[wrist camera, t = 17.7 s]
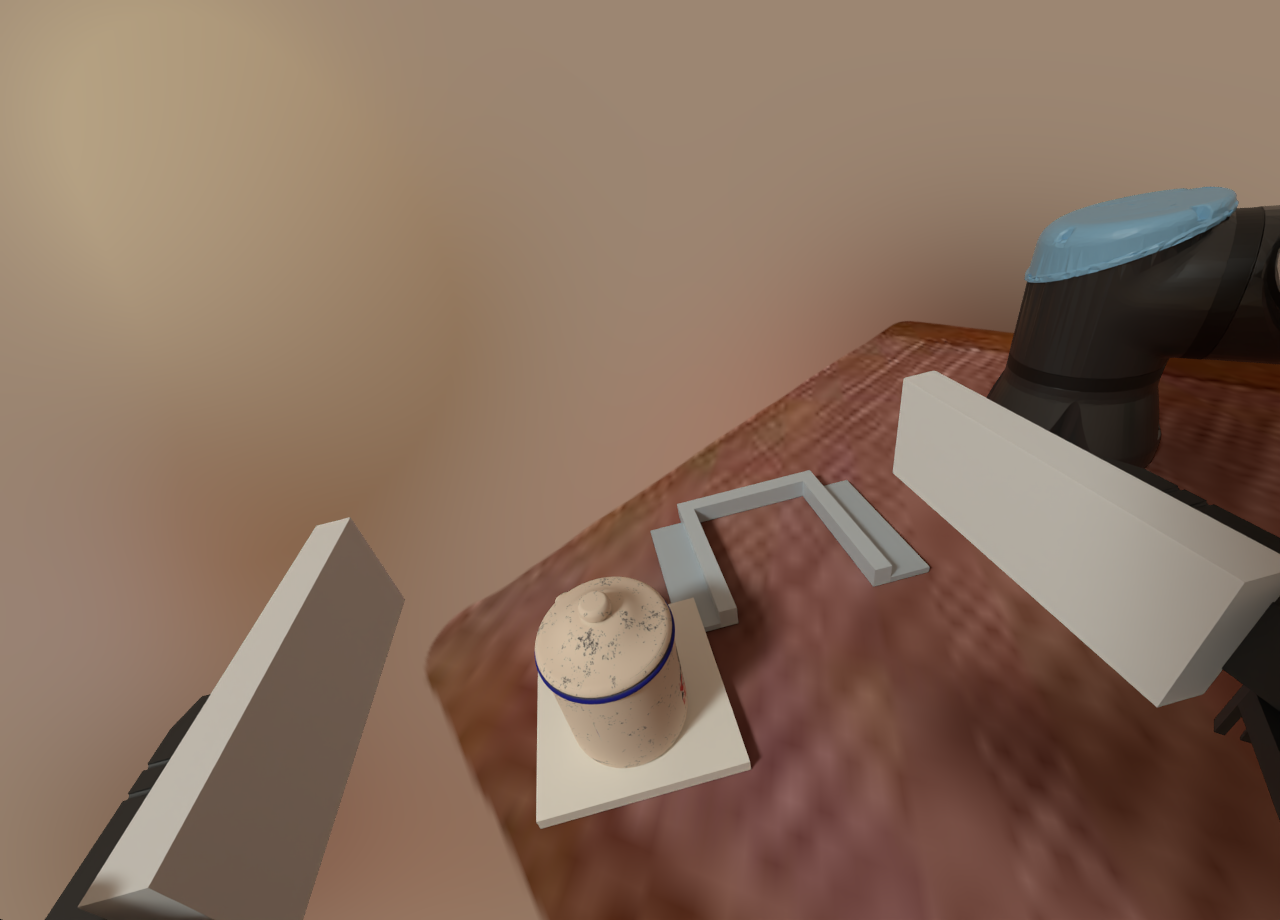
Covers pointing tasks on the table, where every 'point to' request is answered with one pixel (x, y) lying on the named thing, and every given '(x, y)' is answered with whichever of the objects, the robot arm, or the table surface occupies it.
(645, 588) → the teacup with lid
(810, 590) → the table surface
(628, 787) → the mat
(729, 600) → the cradle
